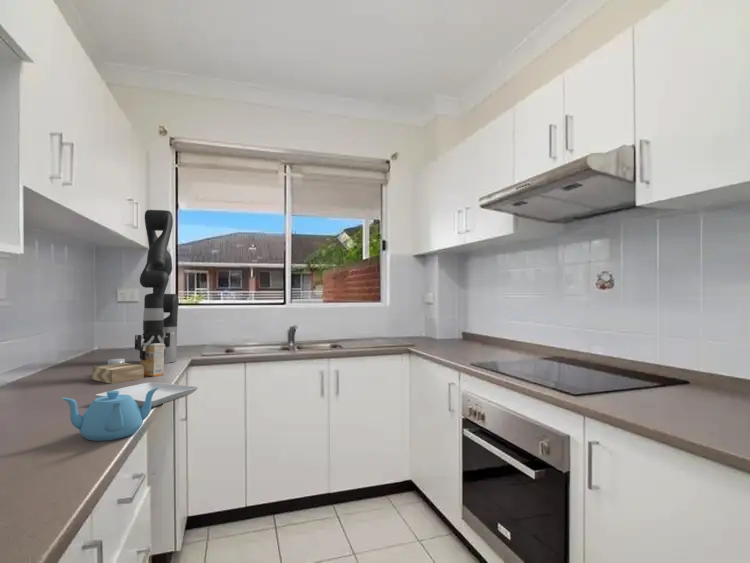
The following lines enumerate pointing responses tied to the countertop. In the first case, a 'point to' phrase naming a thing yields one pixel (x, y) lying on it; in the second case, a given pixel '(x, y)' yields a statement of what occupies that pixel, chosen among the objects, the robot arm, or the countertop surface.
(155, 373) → the supplement box
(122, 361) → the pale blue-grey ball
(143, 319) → the robot arm
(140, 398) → the salad plate
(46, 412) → the countertop surface
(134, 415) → the teapot
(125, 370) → the plate
